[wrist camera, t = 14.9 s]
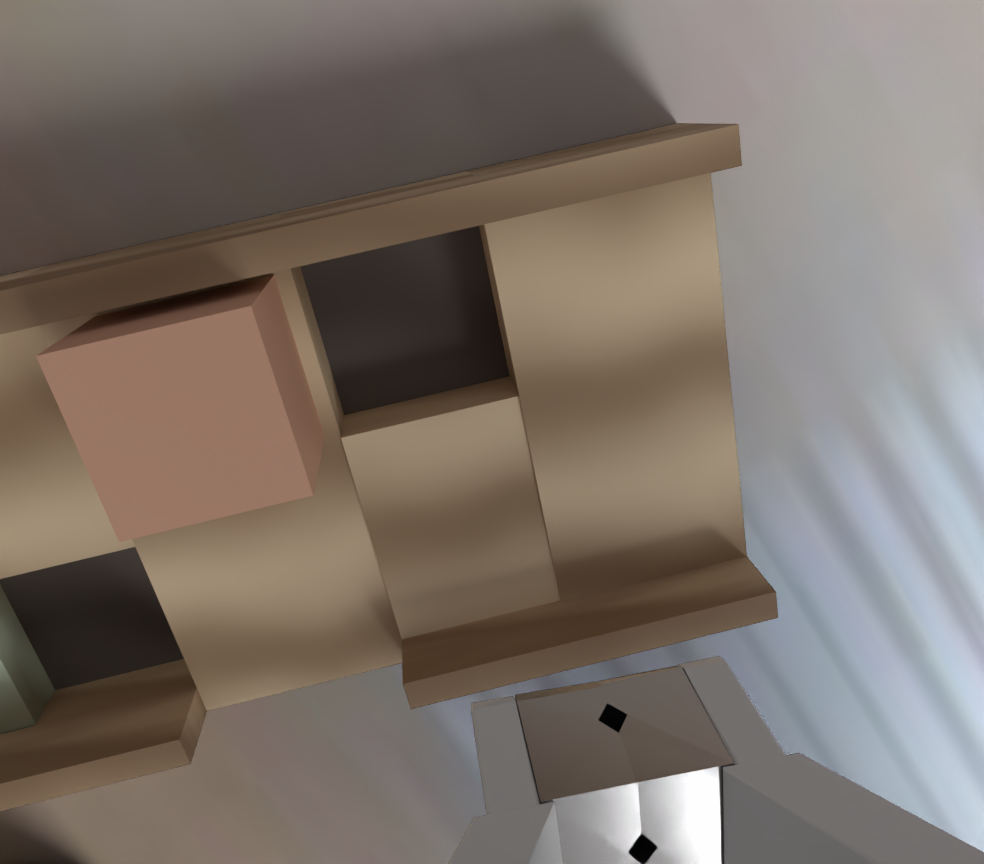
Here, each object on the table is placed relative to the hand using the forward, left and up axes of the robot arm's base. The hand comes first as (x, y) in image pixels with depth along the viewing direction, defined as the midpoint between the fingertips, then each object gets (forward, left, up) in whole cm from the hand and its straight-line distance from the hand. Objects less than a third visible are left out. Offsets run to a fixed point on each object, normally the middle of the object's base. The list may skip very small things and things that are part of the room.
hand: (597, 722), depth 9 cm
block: (+1, +7, -15) cm, 17 cm away
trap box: (-2, +7, -18) cm, 19 cm away
